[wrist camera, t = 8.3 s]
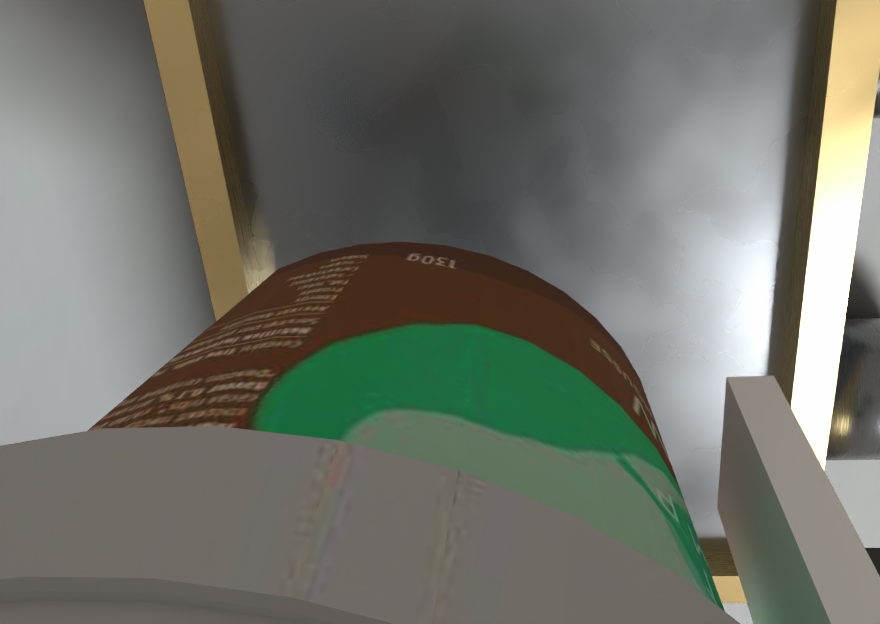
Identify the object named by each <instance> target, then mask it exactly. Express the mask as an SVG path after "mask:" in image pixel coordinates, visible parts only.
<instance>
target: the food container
mask: <svg viewBox="0 0 880 624" xmlns="http://www.w3.org/2000/svg"><path fill="white" fill-rule="evenodd" d="M0 624H740V623H739V622H737V621H736V620H735V619H733V618H732V617H731V616H730V615H728V614H727V613H726V612H725V611H724V608H723V605H722V602H721V600H720V597H719V594H718V591H717V589H716V586H715V583H714V581H713V578H712V575H711V572H710V570H709V567H708V564H707V561H706V559H705V556H704V553H703V550H702V548H701V545H700V542H699V539H698V537H697V534H696V531H695V528H694V526H693V523H692V520H691V517H690V515H689V512H688V509H687V506H686V504H685V501H684V498H683V495H682V493H681V490H680V487H679V484H678V482H677V479H676V476H675V473H674V471H673V468H672V465H671V462H670V460H669V457H668V454H667V451H666V449H665V446H664V443H663V440H662V438H661V435H660V432H659V429H658V427H657V424H656V421H655V418H654V416H653V413H652V410H651V407H650V405H649V402H648V399H647V396H646V394H645V391H644V388H643V386H642V383H641V380H640V378H639V376H638V374H637V373H636V371H635V369H634V368H633V366H632V364H631V362H630V361H629V359H628V357H627V356H626V354H625V352H624V351H623V349H622V347H621V346H620V345H619V344H618V343H617V341H616V340H615V339H614V338H613V337H612V336H611V334H610V333H609V332H608V331H607V330H606V329H605V328H604V326H603V325H602V324H601V323H600V322H599V321H598V320H597V318H596V317H594V316H593V315H592V314H591V313H590V312H588V311H587V310H586V309H585V308H583V307H582V306H581V305H580V304H579V303H577V302H576V301H575V300H574V299H573V298H571V297H570V296H569V295H568V294H566V293H565V292H564V291H562V290H560V289H559V288H557V287H555V286H553V285H552V284H550V283H548V282H547V281H545V280H543V279H541V278H540V277H538V276H536V275H535V274H533V273H531V272H529V271H527V270H525V269H522V268H520V267H517V266H515V265H512V264H510V263H507V262H505V261H502V260H500V259H497V258H495V257H492V256H489V255H486V254H482V253H477V252H473V251H469V250H465V249H460V248H456V247H452V246H447V245H438V244H426V243H415V242H403V241H402V242H386V243H369V244H358V245H353V246H348V247H344V248H339V249H334V250H330V251H325V252H320V253H317V254H315V255H312V256H309V257H307V258H304V259H302V260H299V261H297V262H294V263H291V264H289V265H286V266H284V267H281V268H278V269H277V270H276V271H275V272H274V273H273V274H271V275H270V276H269V277H268V278H267V279H266V280H264V281H263V282H262V283H261V284H260V285H258V286H257V287H256V288H255V289H254V290H253V291H251V292H250V293H249V294H248V295H247V296H245V297H244V298H243V299H242V300H241V301H240V302H238V303H237V304H236V305H235V306H234V307H233V308H231V309H230V310H229V311H228V312H227V313H225V314H224V315H223V316H222V317H221V318H220V319H218V320H217V321H216V322H215V323H214V324H213V325H211V326H210V327H209V328H208V329H207V330H205V331H204V332H203V333H202V334H201V335H200V336H198V337H197V338H196V339H195V340H194V341H193V342H191V343H190V344H189V345H188V346H187V347H185V348H184V349H183V350H182V351H181V352H180V353H178V354H177V355H176V356H175V357H174V358H172V359H171V360H170V361H169V362H168V363H167V364H165V365H164V366H163V367H162V368H161V369H160V370H158V371H157V372H156V373H155V374H154V375H152V376H151V377H150V378H149V379H148V380H147V381H145V382H144V383H143V384H142V385H141V386H140V387H138V388H137V389H136V390H135V391H134V392H132V393H131V394H130V395H129V396H128V397H127V398H125V399H124V400H123V401H122V402H121V403H120V404H118V405H117V406H116V407H115V408H114V409H112V410H111V411H110V412H109V413H108V414H107V415H105V416H104V417H103V418H102V419H101V420H100V421H98V422H97V423H96V424H95V425H94V426H92V427H91V428H90V429H89V430H88V431H86V432H80V433H74V434H68V435H62V436H56V437H50V438H44V439H38V440H33V441H27V442H21V443H15V444H9V445H3V446H0Z"/></svg>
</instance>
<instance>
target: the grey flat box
mask: <svg viewBox="0 0 880 624" xmlns="http://www.w3.org/2000/svg"><path fill="white" fill-rule="evenodd" d="M143 1H144V5H145V10H146V14H147V19H148V23H149V27H150V32H151V36H152V41H153V45H154V50H155V54H156V58H157V63H158V67H159V72H160V76H161V80H162V85H163V89H164V94H165V98H166V103H167V107H168V111H169V116H170V120H171V125H172V129H173V133H174V138H175V142H176V147H177V151H178V156H179V160H180V164H181V169H182V173H183V178H184V182H185V187H186V191H187V195H188V200H189V204H190V209H191V213H192V217H193V222H194V226H195V231H196V235H197V240H198V244H199V248H200V253H201V257H202V262H203V266H204V271H205V275H206V279H207V284H208V288H209V293H210V297H211V301H212V306H213V310H214V315H215V319H216V321H217V320H218V319H220V318H221V317H222V316H223V315H224V314H225V313H227V312H228V311H229V310H230V309H231V308H233V307H234V306H235V305H236V304H237V303H238V302H240V301H241V300H242V299H243V298H244V297H245V296H247V295H248V294H249V293H250V292H251V291H253V290H254V289H255V288H256V287H257V286H258V285H260V284H261V283H262V282H263V281H264V280H266V279H267V278H268V277H269V276H270V275H271V274H273V273H274V272H275V271H276V270H277V269H278V268H281V267H284V266H286V265H289V264H291V263H294V262H297V261H299V260H302V259H304V258H307V257H309V256H312V255H315V254H317V253H320V252H325V251H330V250H334V249H339V248H344V247H348V246H353V245H358V244H369V243H386V242H402V241H403V242H415V243H426V244H438V245H447V246H452V247H456V248H460V249H465V250H469V251H473V252H477V253H482V254H486V255H489V256H492V257H495V258H497V259H500V260H502V261H505V262H507V263H510V264H512V265H515V266H517V267H520V268H522V269H525V270H527V271H529V272H531V273H533V274H535V275H536V276H538V277H540V278H541V279H543V280H545V281H547V282H548V283H550V284H552V285H553V286H555V287H557V288H559V289H560V290H562V291H564V292H565V293H566V294H568V295H569V296H570V297H571V298H573V299H574V300H575V301H576V302H577V303H579V304H580V305H581V306H582V307H583V308H585V309H586V310H587V311H588V312H590V313H591V314H592V315H593V316H594V317H596V318H597V320H598V321H599V322H600V323H601V324H602V325H603V326H604V328H605V329H606V330H607V331H608V332H609V333H610V334H611V336H612V337H613V338H614V339H615V340H616V341H617V343H618V344H619V345H620V346H621V347H622V349H623V351H624V352H625V354H626V356H627V357H628V359H629V361H630V362H631V364H632V366H633V368H634V369H635V371H636V373H637V374H638V376H639V378H640V380H641V383H642V386H643V388H644V391H645V394H646V396H647V399H648V402H649V405H650V407H651V410H652V413H653V416H654V418H655V421H656V424H657V427H658V429H659V432H660V435H661V438H662V440H663V443H664V446H665V449H666V451H667V454H668V457H669V460H670V462H671V465H672V468H673V471H674V473H675V476H676V479H677V482H678V484H679V487H680V490H681V493H682V495H683V498H684V501H685V504H686V506H687V509H688V512H689V515H690V517H691V520H692V523H693V526H694V528H695V531H696V534H697V537H698V539H699V542H700V545H701V548H702V550H703V553H704V556H705V559H706V561H707V564H708V567H709V570H710V572H711V575H712V578H713V581H714V583H715V586H716V589H717V591H718V594H719V597H720V600H721V602H722V603H747V601H746V598H745V595H744V592H743V588H742V585H741V582H740V579H739V576H738V572H737V569H736V566H735V563H734V560H733V557H732V553H731V550H730V547H729V544H728V541H727V538H726V534H725V531H724V528H723V525H722V522H721V518H720V515H719V512H718V509H717V502H718V488H719V474H720V460H721V446H722V432H723V419H724V405H725V391H726V377H744V376H774V377H775V379H776V381H777V383H778V385H779V386H780V388H781V390H782V392H783V394H784V396H785V398H786V400H787V402H788V403H789V405H790V407H791V409H792V411H793V413H794V415H795V417H796V419H797V421H798V422H799V424H800V426H801V428H802V430H803V432H804V434H805V436H806V438H807V439H808V441H809V443H810V445H811V447H812V449H813V451H814V453H815V455H816V457H817V458H818V460H819V462H820V464H821V466H822V468H823V470H824V468H825V461H826V460H880V318H867V319H845V316H846V309H847V302H848V295H849V287H850V280H851V273H852V266H853V259H854V251H855V244H856V237H857V230H858V222H859V215H860V208H861V201H862V193H863V186H864V179H865V172H866V165H867V157H868V150H869V143H870V136H871V128H872V121H873V118H880V0H143Z"/></svg>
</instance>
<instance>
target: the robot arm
mask: <svg viewBox="0 0 880 624" xmlns="http://www.w3.org/2000/svg"><path fill="white" fill-rule="evenodd" d="M717 509H718V512H719V515H720V518H721V522H722V525H723V528H724V531H725V534H726V538H727V541H728V544H729V547H730V550H731V553H732V557H733V560H734V563H735V566H736V569H737V572H738V576H739V579H740V582H741V585H742V588H743V592H744V595H745V598H746V601H747V604H748V607H749V611H750V614H751V617H752V620H753V623H754V624H880V548H865V547H864V546H863V544H862V542H861V540H860V538H859V536H858V534H857V532H856V530H855V529H854V527H853V525H852V523H851V521H850V519H849V517H848V515H847V513H846V511H845V510H844V508H843V506H842V504H841V502H840V500H839V498H838V496H837V494H836V493H835V491H834V489H833V487H832V485H831V483H830V481H829V479H828V477H827V475H826V474H825V472H824V470H823V468H822V466H821V464H820V462H819V460H818V458H817V457H816V455H815V453H814V451H813V449H812V447H811V445H810V443H809V441H808V439H807V438H806V436H805V434H804V432H803V430H802V428H801V426H800V424H799V422H798V421H797V419H796V417H795V415H794V413H793V411H792V409H791V407H790V405H789V403H788V402H787V400H786V398H785V396H784V394H783V392H782V390H781V388H780V386H779V385H778V383H777V381H776V379H775V377H774V376H744V377H726V391H725V405H724V419H723V432H722V446H721V460H720V474H719V488H718V502H717Z"/></svg>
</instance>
